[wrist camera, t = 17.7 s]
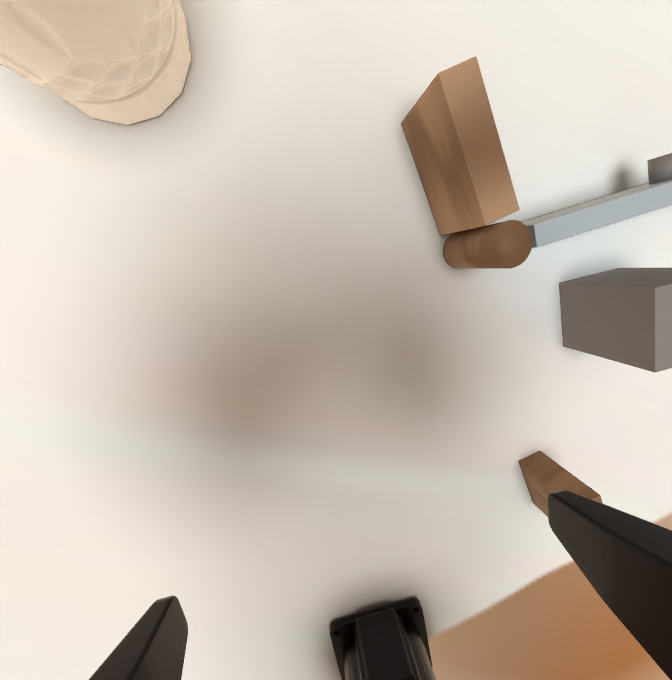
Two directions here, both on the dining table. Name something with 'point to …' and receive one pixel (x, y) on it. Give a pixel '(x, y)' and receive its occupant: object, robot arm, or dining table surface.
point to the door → (607, 207)
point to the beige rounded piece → (100, 53)
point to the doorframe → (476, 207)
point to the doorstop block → (620, 316)
